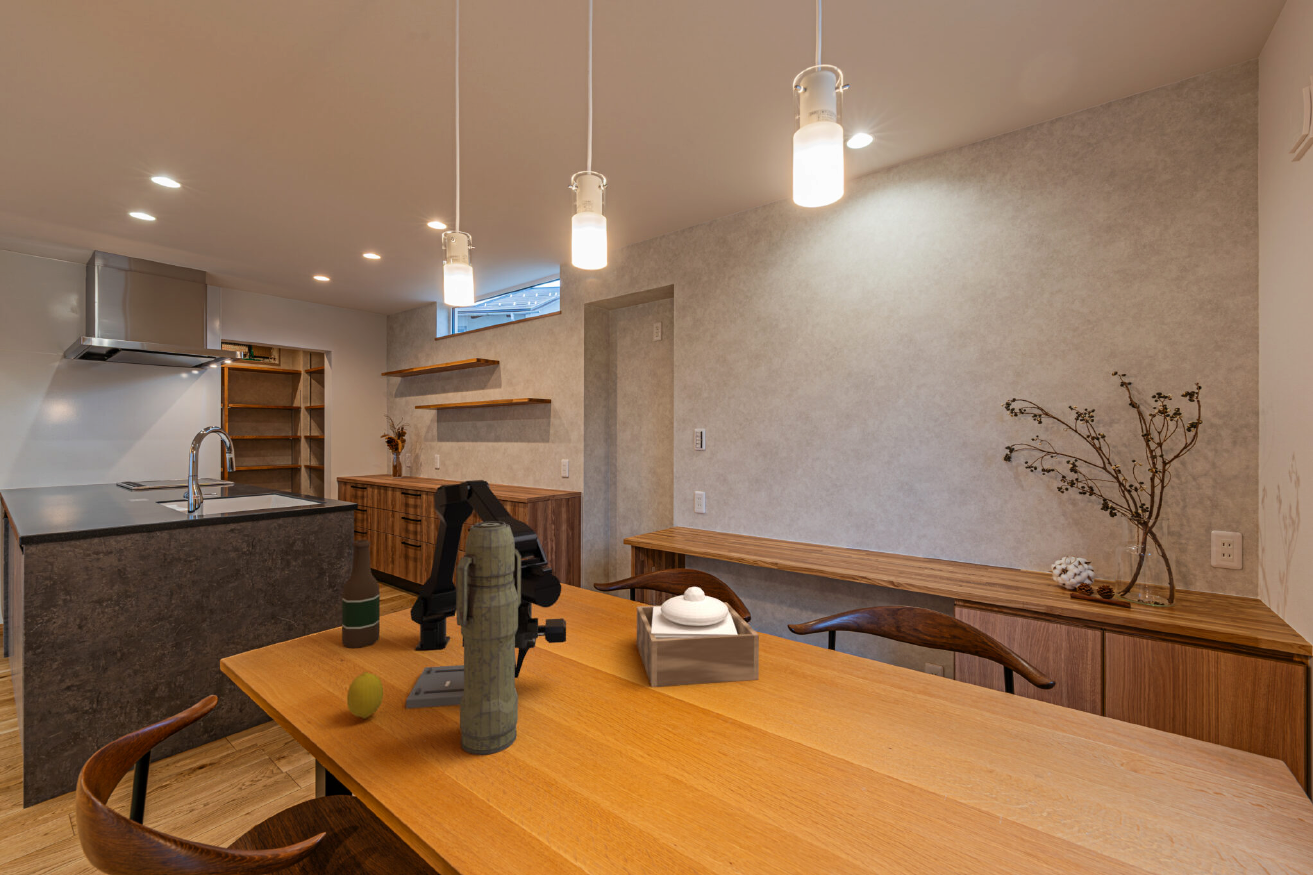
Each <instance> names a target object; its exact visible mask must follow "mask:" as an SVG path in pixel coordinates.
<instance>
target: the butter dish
mask: <svg viewBox="0 0 1313 875" xmlns="http://www.w3.org/2000/svg"><path fill="white" fill-rule="evenodd" d="M724 603H725V602H723V601H721V600H719V599H718V598H715V597H713V596H712V597H711V596H708V595H705V592H704V590H702V588H701V587H698V586H692V587H688V588H687V589H686V590H684V593H683V594H681V595H678V596H674V597H671V598H669V599H667V600H666V601H664V602H663V603H662V604H661V605H662V606H661V607H653V618H652V630H651V633H654V635H655V637H656V639H669V638H687V637H705V636H723V635H738V634H737V631H736V628H735V625H734V623H733V620H732V617H731V614H730V613H729V611H728V607H727V606H726V605H725V604H724Z"/></svg>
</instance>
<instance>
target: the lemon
mask: <svg viewBox="0 0 1313 875" xmlns="http://www.w3.org/2000/svg"><path fill="white" fill-rule="evenodd" d="M346 699H347V700H346V702H347V707H348V710H349V711H350V713H351V714H352V715H353V716H355V717H357V718H358V717H359V718H360V717H361V718H362V719H363V720H365V719H368V718H369V717H370V716H371V715H373V714H374V713H375V712H376V711H377V710H378V709H379V708H380V706H381V704H382V702H383V699H384V686H383V683H382V680H381V679H380V677H379V676H377V675H376V674H374V673H370V672H368V671H363V672H362V674H359V675H358V676H357V677H356V678H354V680H352V682H351V684H350V685H349V688H348V690H347V697H346Z"/></svg>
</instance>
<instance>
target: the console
mask: <svg viewBox="0 0 1313 875" xmlns="http://www.w3.org/2000/svg"><path fill="white" fill-rule="evenodd" d="M463 694H464V664H460V665H446V666H443V665H442V666H427V667H424V669H423V670H422V672H421V674H420V676H419V677H418V679H417V681H416V682H415V684H414V686H413V688H412V689H411V691H410V693H409V694H408V696H407V698H406V699H405V702H406V703H405V709H417V708H418V709H419V708H432V707H433V708H434V707H445V706H460V702H461V699H462V697H463Z"/></svg>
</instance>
